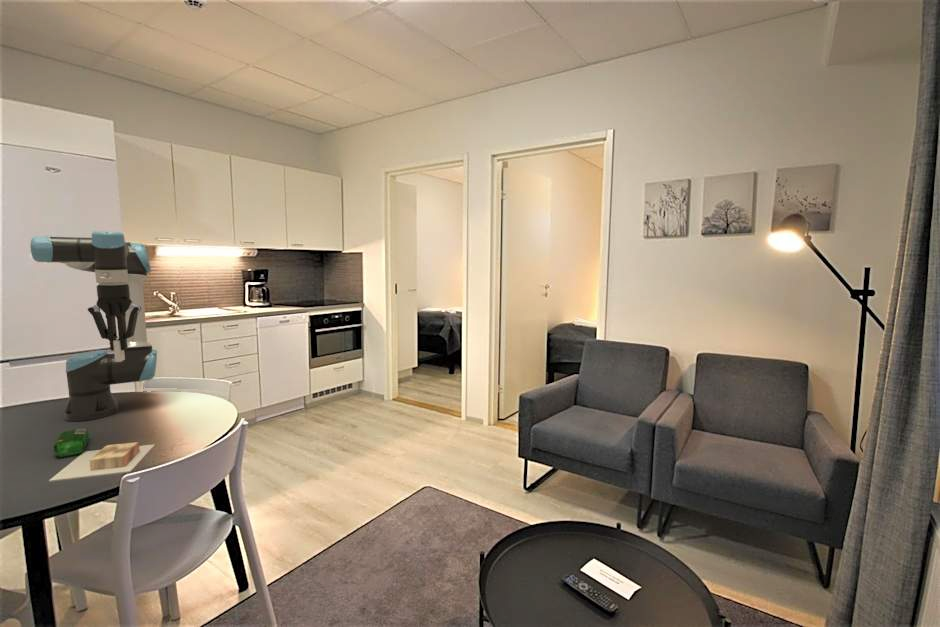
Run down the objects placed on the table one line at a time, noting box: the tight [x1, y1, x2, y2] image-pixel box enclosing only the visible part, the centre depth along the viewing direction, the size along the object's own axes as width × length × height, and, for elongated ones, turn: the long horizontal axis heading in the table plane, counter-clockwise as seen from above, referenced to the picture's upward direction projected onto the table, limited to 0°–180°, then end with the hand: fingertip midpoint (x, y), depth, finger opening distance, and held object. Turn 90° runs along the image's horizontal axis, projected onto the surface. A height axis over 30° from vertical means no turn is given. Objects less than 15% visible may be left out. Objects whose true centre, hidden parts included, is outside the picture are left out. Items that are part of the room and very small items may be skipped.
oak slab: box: [89, 441, 140, 471], centre depth 126 cm, size 10×3×8 cm
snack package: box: [53, 428, 89, 458], centre depth 133 cm, size 7×16×5 cm, turn 36°
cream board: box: [48, 444, 156, 483], centre depth 126 cm, size 18×18×1 cm
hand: (120, 360), depth 134 cm, fingers closed
